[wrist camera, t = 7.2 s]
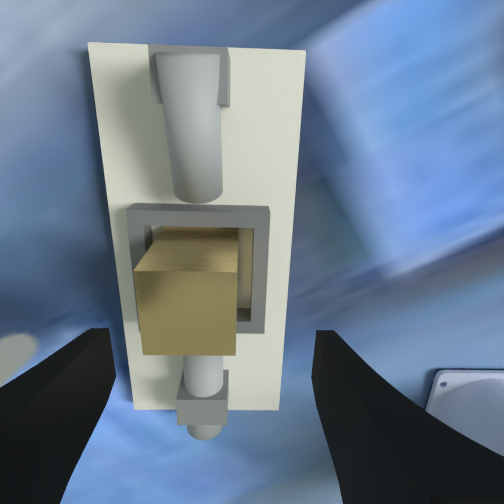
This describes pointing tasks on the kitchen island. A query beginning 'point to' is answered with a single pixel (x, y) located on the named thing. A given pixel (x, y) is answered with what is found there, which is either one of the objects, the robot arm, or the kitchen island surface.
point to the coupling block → (189, 292)
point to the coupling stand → (203, 203)
